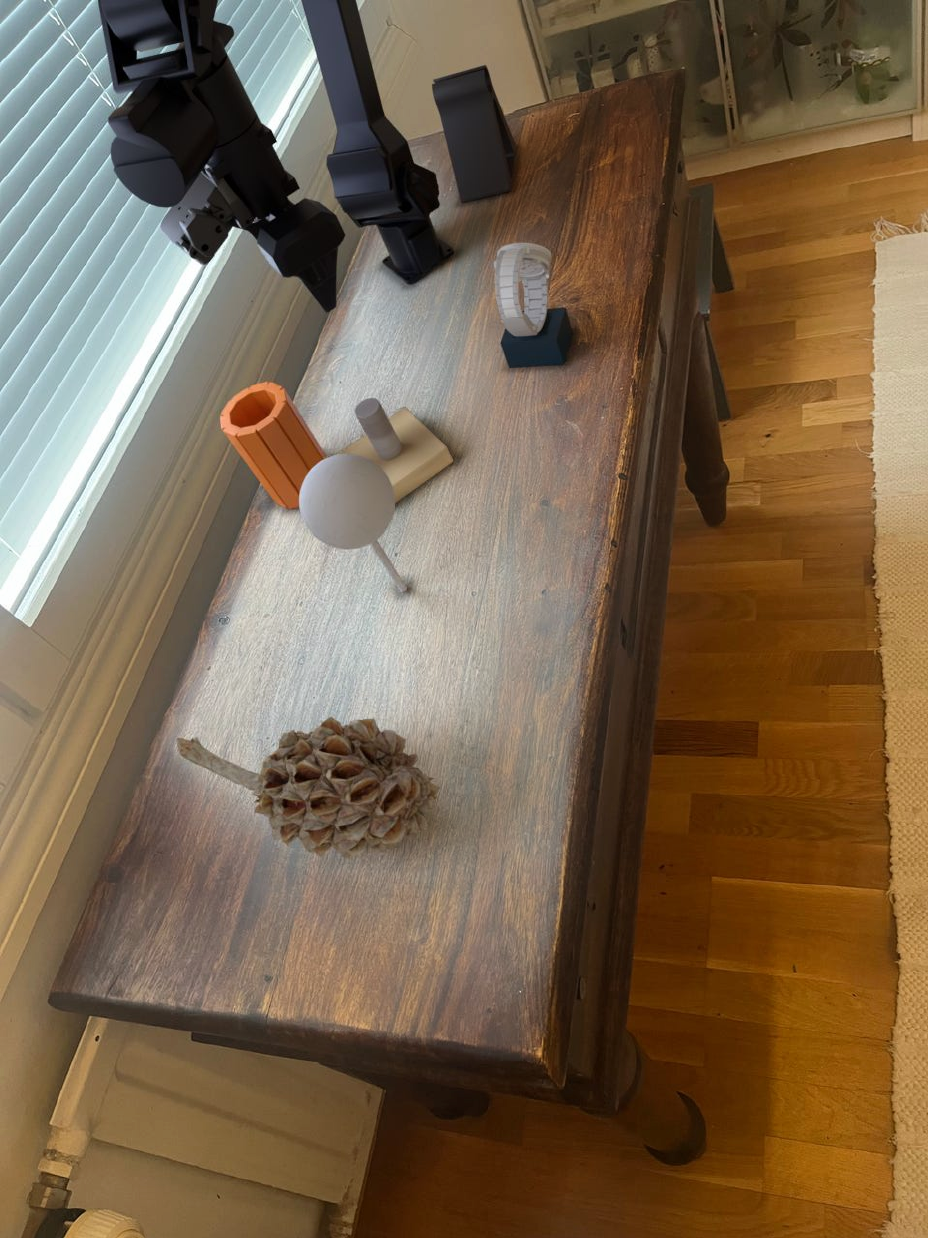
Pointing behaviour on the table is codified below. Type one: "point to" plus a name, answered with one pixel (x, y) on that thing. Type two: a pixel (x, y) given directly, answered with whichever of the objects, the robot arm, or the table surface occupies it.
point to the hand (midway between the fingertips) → (310, 290)
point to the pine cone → (334, 787)
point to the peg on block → (399, 446)
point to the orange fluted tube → (272, 440)
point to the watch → (529, 308)
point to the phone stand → (475, 133)
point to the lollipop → (349, 505)
